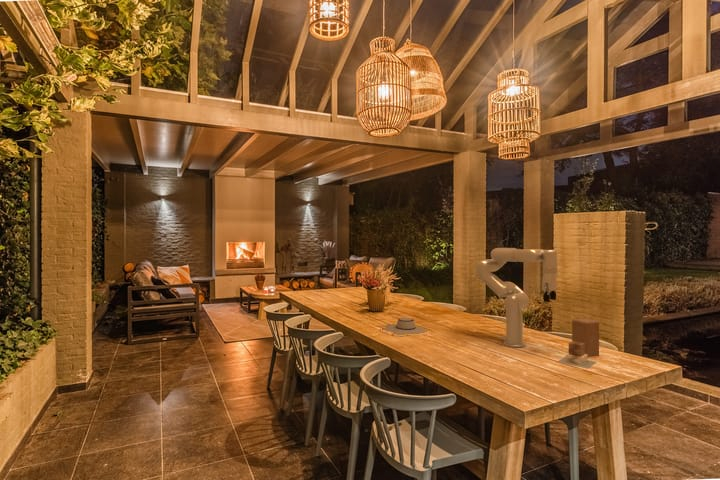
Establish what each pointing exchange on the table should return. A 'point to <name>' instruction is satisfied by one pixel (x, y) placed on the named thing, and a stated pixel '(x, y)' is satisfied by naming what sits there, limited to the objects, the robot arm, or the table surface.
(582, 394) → the table surface
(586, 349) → the wooden block
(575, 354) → the walnut cube
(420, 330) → the sun hat
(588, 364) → the grey flat square
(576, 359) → the birch base brick
